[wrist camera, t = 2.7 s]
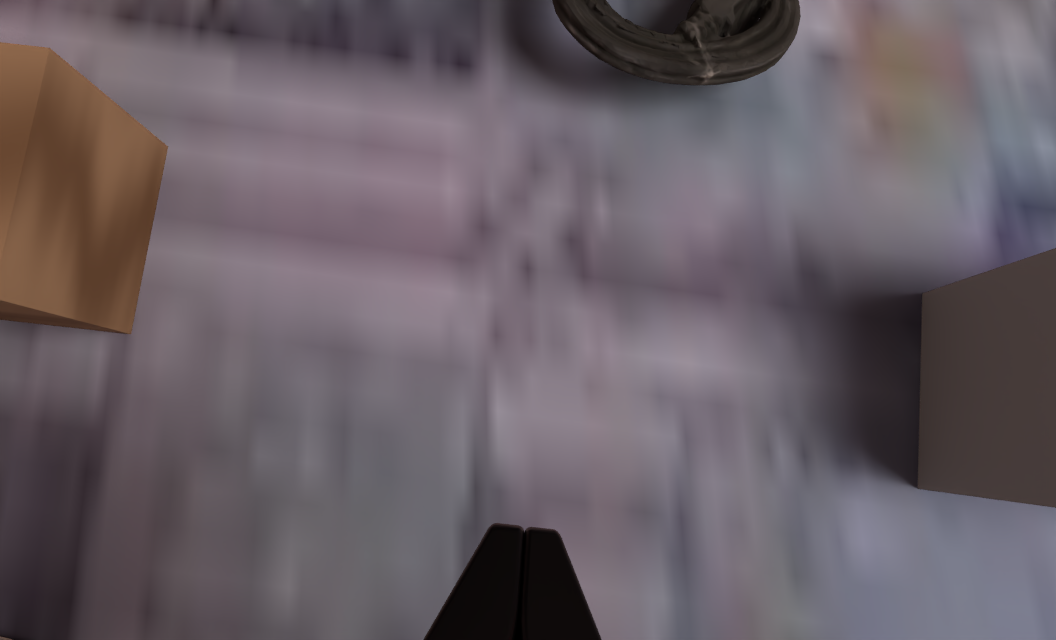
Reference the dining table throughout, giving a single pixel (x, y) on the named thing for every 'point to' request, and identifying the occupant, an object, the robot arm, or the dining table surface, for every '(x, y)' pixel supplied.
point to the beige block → (991, 384)
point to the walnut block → (71, 196)
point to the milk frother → (688, 39)
